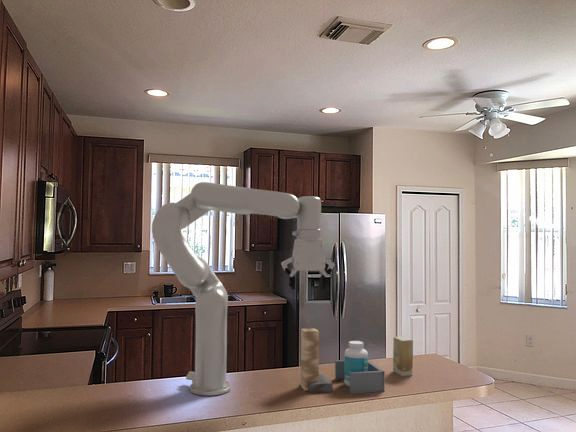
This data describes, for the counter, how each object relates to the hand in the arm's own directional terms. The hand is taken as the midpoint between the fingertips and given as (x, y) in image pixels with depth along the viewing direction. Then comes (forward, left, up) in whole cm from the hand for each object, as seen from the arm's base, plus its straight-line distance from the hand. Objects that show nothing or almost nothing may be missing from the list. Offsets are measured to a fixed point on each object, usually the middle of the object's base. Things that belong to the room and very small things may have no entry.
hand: (307, 289), depth 149 cm
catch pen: (+14, +10, -31) cm, 35 cm away
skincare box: (+23, +30, -31) cm, 48 cm away
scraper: (+3, +1, -31) cm, 31 cm away
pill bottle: (+13, +10, -31) cm, 35 cm away
